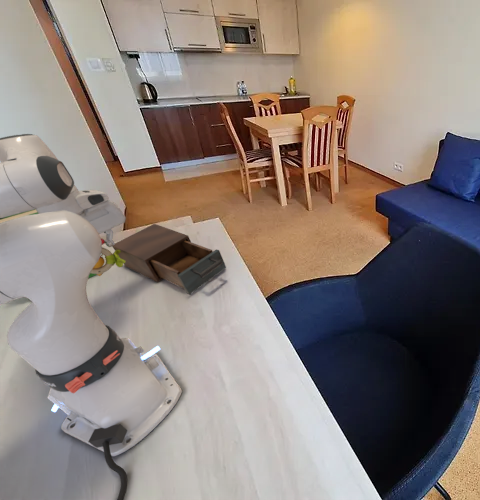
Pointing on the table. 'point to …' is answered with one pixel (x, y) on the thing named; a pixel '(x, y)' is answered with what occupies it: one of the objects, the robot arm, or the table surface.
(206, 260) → the drawer
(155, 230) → the cabinet
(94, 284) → the table surface
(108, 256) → the bird rattle
